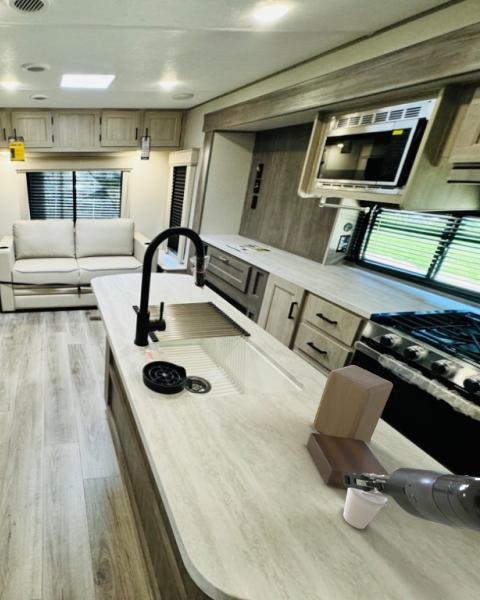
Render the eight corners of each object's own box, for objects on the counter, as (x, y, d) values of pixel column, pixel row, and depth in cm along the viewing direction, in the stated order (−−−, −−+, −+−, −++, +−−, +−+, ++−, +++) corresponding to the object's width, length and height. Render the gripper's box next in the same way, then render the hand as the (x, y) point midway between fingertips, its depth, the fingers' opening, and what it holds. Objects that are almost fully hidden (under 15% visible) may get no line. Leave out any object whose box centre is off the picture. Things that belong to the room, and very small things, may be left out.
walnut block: (357, 454, 83) (363, 440, 81) (385, 496, 72) (393, 480, 71) (306, 446, 86) (310, 432, 84) (326, 485, 75) (332, 470, 73)
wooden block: (334, 418, 96) (353, 362, 88) (371, 442, 87) (396, 383, 79) (310, 426, 93) (328, 370, 85) (346, 452, 84) (369, 391, 77)
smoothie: (329, 512, 69) (347, 466, 64) (346, 501, 72) (365, 455, 66) (362, 541, 64) (385, 493, 59) (380, 527, 66) (404, 480, 61)
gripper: (485, 479, 49) (407, 469, 63) (377, 461, 52) (327, 456, 67) (502, 536, 46) (417, 512, 61) (387, 513, 49) (332, 496, 64)
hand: (370, 483), depth 64 cm, fingers open, 8 cm apart
